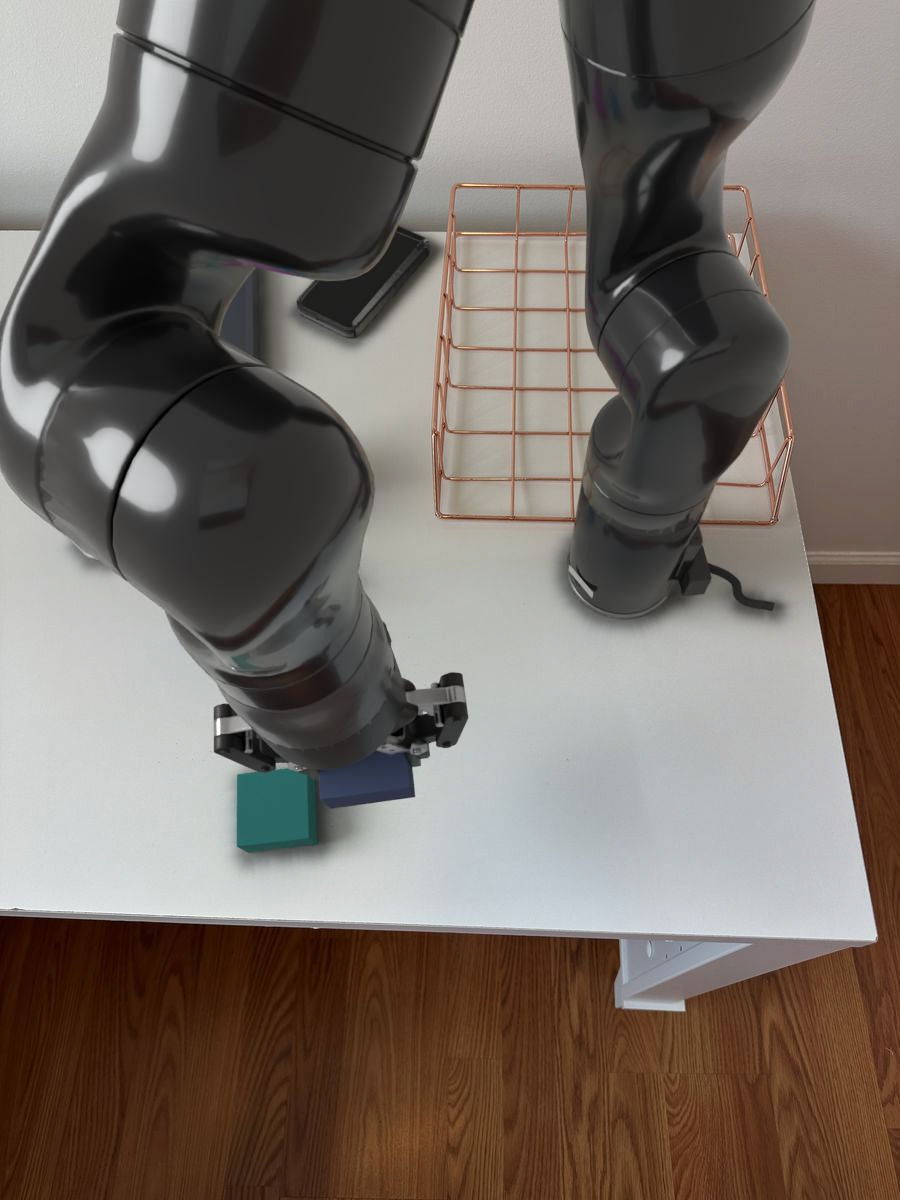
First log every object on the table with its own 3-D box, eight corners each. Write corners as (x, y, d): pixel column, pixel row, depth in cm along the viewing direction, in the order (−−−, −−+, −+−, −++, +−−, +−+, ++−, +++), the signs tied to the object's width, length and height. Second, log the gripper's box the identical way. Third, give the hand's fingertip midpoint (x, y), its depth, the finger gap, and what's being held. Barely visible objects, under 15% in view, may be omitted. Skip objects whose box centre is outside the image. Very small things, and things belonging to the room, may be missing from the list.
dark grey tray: (258, 268, 91) (252, 249, 89) (260, 380, 85) (254, 363, 82) (175, 278, 91) (167, 259, 89) (171, 391, 85) (162, 374, 82)
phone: (433, 241, 90) (351, 333, 85) (433, 249, 91) (353, 341, 86) (373, 215, 92) (290, 303, 87) (375, 223, 93) (293, 311, 88)
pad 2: (406, 714, 55) (401, 700, 52) (415, 797, 53) (410, 787, 50) (324, 725, 55) (314, 712, 52) (329, 809, 53) (319, 799, 50)
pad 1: (314, 774, 67) (307, 765, 64) (317, 844, 65) (309, 838, 62) (247, 782, 67) (236, 774, 65) (247, 852, 65) (236, 846, 62)
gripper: (152, 769, 37) (258, 832, 52) (478, 724, 36) (487, 801, 52) (157, 614, 40) (255, 717, 55) (456, 572, 40) (471, 687, 55)
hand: (367, 757), depth 53 cm, fingers closed on pad 2, 5 cm apart
